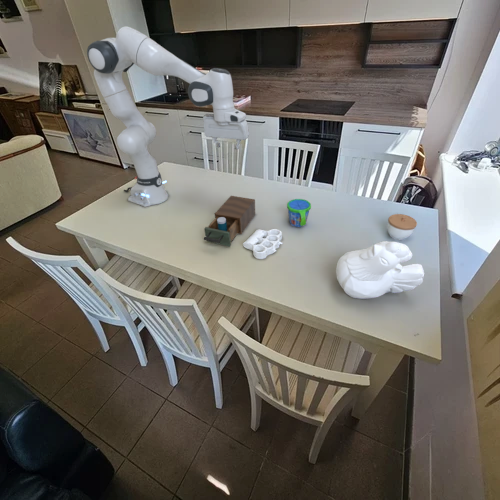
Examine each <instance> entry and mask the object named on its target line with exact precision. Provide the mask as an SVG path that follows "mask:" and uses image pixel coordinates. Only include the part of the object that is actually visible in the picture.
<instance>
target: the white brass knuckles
mask: <svg viewBox="0 0 500 500" xmlns="http://www.w3.org/2000/svg"><path fill="white" fill-rule="evenodd" d="M282 240H283V232H282V231H281V230H280V229H277V228H272V229H269V230H265V229H260V228H258V229H256V230H255V231H254V232H253V233H251V235H249V237H248V238H247V239H246V240H245V241H244V242H243V243H242V246H243V247H244V248H245V249H247V250H250V251H252V254H253V257H254V258H255V259H258V260H265V259H266V258H267V256H270V255H273V254H274V253H275V252H276V253H277V249H278V248H280V245H284V242H282Z"/></svg>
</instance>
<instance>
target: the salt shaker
mask: <svg viewBox="0 0 500 500" xmlns="http://www.w3.org/2000/svg"><path fill="white" fill-rule="evenodd" d="M217 225H218V230H222V231H227V222H226V218H224V217H220V218H218V219H217ZM227 232H228V231H227Z"/></svg>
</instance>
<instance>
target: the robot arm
mask: <svg viewBox="0 0 500 500" xmlns="http://www.w3.org/2000/svg"><path fill="white" fill-rule="evenodd" d="M86 56H87V60H88V62H89V64H90V66H91V67H92V68H93V69H94V70H93V77H94V79H95V82H96V85H97V87H98V90H99V92H100V94H101V96H102V97H103V100H104V102H105V103H106V105H107V107H108V110H109V111H110V113H111V115H112V116H113V117H114V118H116V119H117V120H120V121H121V123H123V125H124V126H125V127H126V128H125V129H123V130H122V131H121V132H120V133H119V135H118V136H117V138H116V145H117V148H118V149H119V150H120V151H121V152H122V153H123V154H125V155H127V156H128V158H129V159H130V160H131V162H132V164H133V167H134V169H135V172H136V176H134V180H136V183H134V184H133V186H128V187H127V188H126V189H123V192H125V193H128V192H129V191H130V195H129V196H128V197H127V198H128V199H127V200H128V202H130V203H133V204H136V205H138V206H142V207H144V208H147V207H150V206H154V205H159V204H162V203H164V202H166V201H167V200H168V199H169V194H168V193H167V189H166V188H165V185H164V184H166V183H167V180H164V181H163V178H162V174H161V172H160V170H159V168H158V163H157V162H158V161H157V159H156V157H154V156H153V155H151V154H150V152H149V150H148V149H149V148H148V146H149V145H150V144H152V143H153V142H154V140H155V138H156V136H157V129H156V126H155V125H154V124H153V123H152V122H151V121H149V120H147V119H146V118H145V117H144V115H143V114H142V113H141V112H140V110H139V109H138V107H137V106H136V103H135V102H134V100H133V98H132V95H131V93H130V92H129V90H128V88H127V85H126V84H125V81H124V79H123V72H124V73H127V72H128V71H129V70H130V69H131V67H133V66H134V65H135V66H137V67H138V68H140V69H141V70H143V71H144V72H146V73H149V74H151V75H154V76H159V77H160V76H171V77H176V78H179V79H181V80H183V81H184V82H186V83H188V84H189V85H188V88H187V96H188V98H189V100H190V102H191V103H192V105H194V106H196V107H206V106H212V112H213V113H205V114H204V115H203V116H202V121H203V134H204V136H205V137H207V138H212V139H211V140H212V141H213V143H214V144H215V145H214V146H215V148H221V142H220V141H218V139H227V140H228V139H229V140H235V142H236V144H234V146H233V147H234V150H239V149H240V144H241V142H242V141H245V140H247V139H248V138H249V136H250V131H249V123H248V122H247V120H246V118H247V113H245V112H243V111H241V110H239V109H238V108H236V107H235V104H234V86H233V85H234V84H233V78H232V75H231V73H230V71H228V70H227V69H225V68H220V67H213V68H211V69H210V70H209V71H208V72H207V73H205V72H203V71H200V70H199V69H197V68H195V66H192V65H191V64H189V63H188V62H186V61H185V60H183V59H181V58H179V57H177V56H176V55H175V54H173V53H172V52H170V51H169V50H167V49H166V48H164V47H163V46H161V44H159V43H157V42H156V41H155V40H154V39H152V38H150V37H149V36H148V35H146V34H145V33H142V32H141V31H139V30H137V29H135V28H133V27H130V26H127V25H125V26H122V27H120V28H119V29H118V31H117V32H116V35H115V37H106V38H104V39H100V40H95V41H92V42H91V43H90V44H89V45H88V46H87V49H86Z"/></svg>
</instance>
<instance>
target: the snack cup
mask: <svg viewBox="0 0 500 500" xmlns="http://www.w3.org/2000/svg"><path fill="white" fill-rule="evenodd" d="M286 207H287V211H288V221H289V224H290V226H292V227H296V228H301V227H304V226H306V225H307V221H308V217H309V213H310V210H312V209H311V208H312V203H311V202H310V201H309V200H306V199H303V198H295V199H294V198H293V199H291V200H289V201H288V202H287V204H286Z"/></svg>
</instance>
